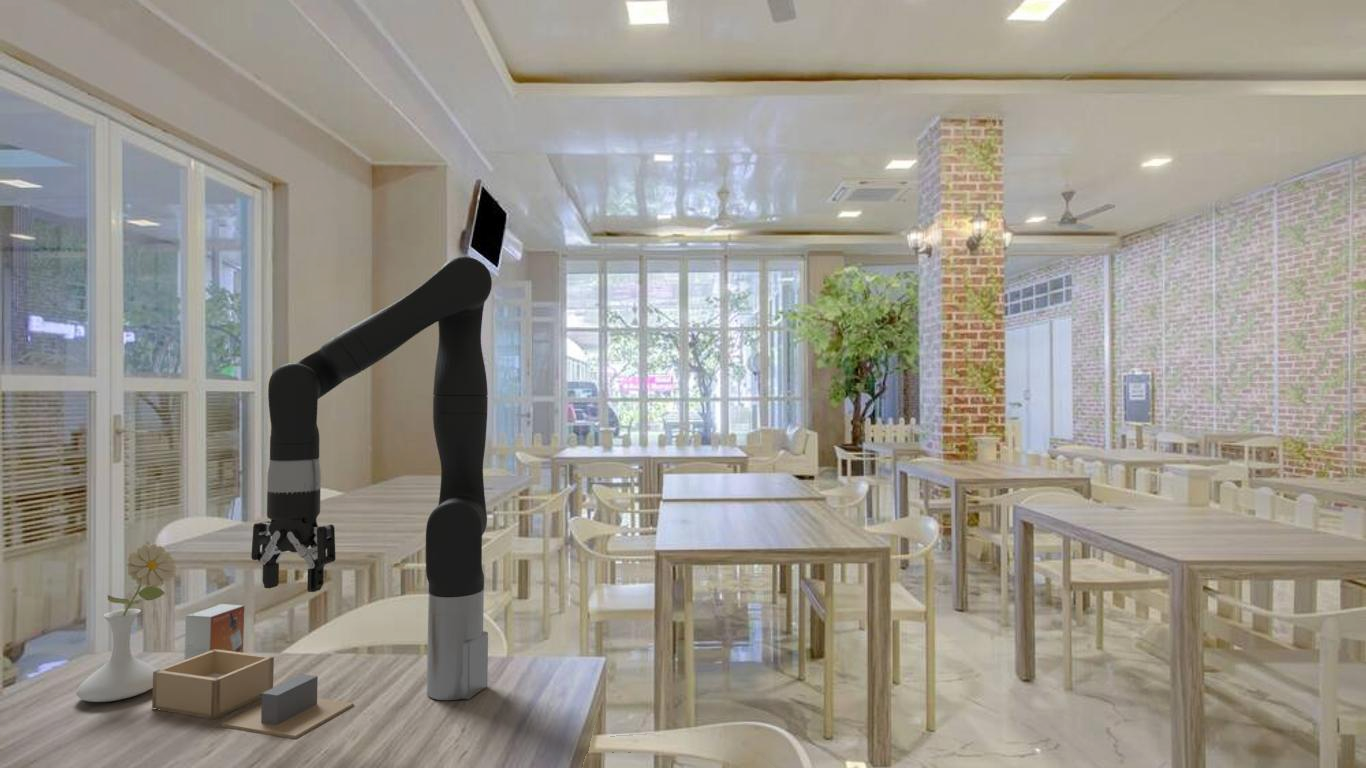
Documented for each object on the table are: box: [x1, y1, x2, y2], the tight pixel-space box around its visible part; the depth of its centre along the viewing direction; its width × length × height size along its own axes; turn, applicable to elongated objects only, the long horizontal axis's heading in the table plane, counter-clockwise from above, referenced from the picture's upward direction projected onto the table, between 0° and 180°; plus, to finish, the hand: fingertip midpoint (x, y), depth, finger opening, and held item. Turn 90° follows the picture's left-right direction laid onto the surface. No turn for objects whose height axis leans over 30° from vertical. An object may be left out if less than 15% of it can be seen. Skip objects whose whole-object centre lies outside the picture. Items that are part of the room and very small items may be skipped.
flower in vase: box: [75, 543, 177, 703], centre depth 121 cm, size 13×11×25 cm
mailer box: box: [151, 649, 275, 720], centre depth 118 cm, size 13×11×6 cm
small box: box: [184, 603, 245, 660], centre depth 133 cm, size 8×6×10 cm
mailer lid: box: [221, 673, 355, 740], centre depth 112 cm, size 14×12×6 cm
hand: (292, 589), depth 113 cm, fingers open, 8 cm apart
